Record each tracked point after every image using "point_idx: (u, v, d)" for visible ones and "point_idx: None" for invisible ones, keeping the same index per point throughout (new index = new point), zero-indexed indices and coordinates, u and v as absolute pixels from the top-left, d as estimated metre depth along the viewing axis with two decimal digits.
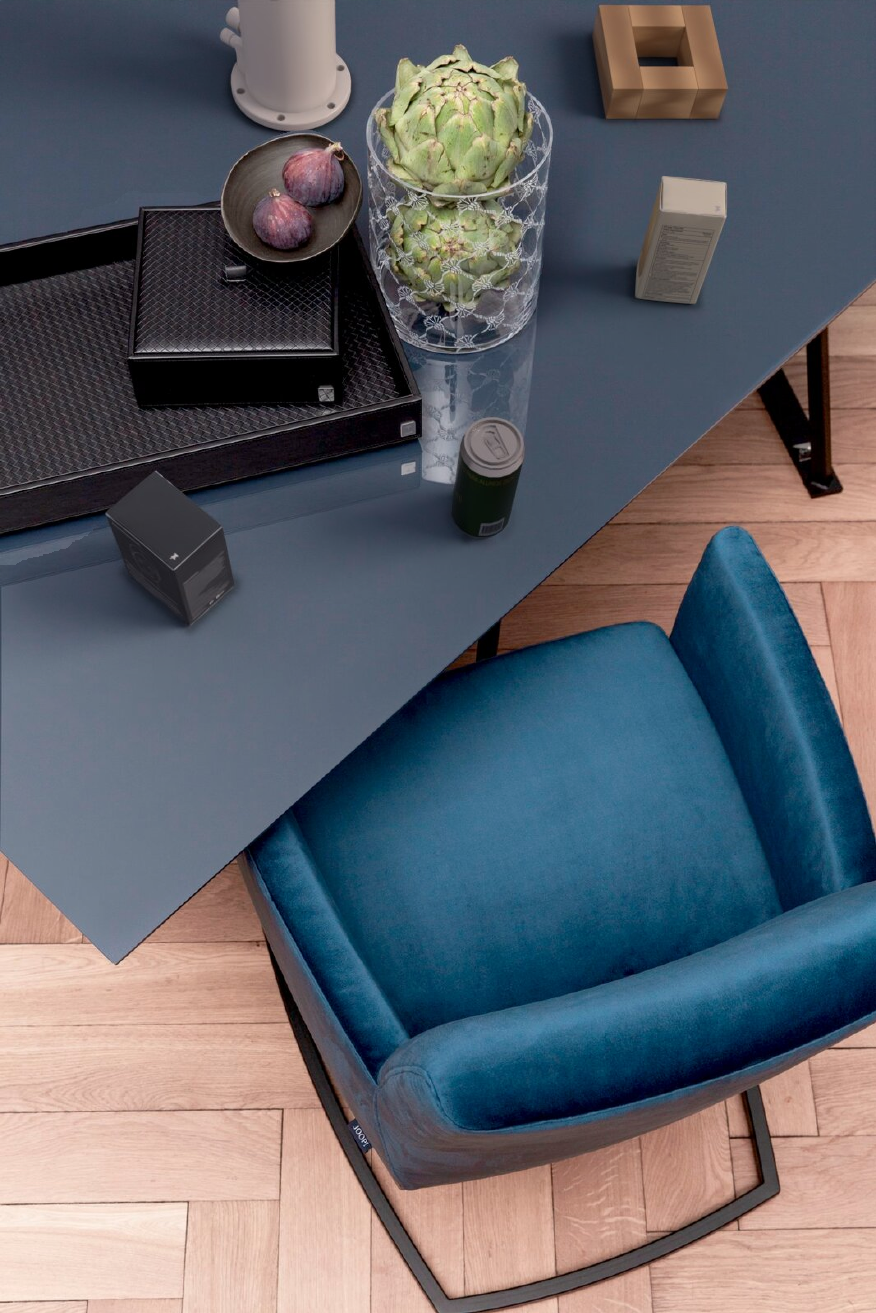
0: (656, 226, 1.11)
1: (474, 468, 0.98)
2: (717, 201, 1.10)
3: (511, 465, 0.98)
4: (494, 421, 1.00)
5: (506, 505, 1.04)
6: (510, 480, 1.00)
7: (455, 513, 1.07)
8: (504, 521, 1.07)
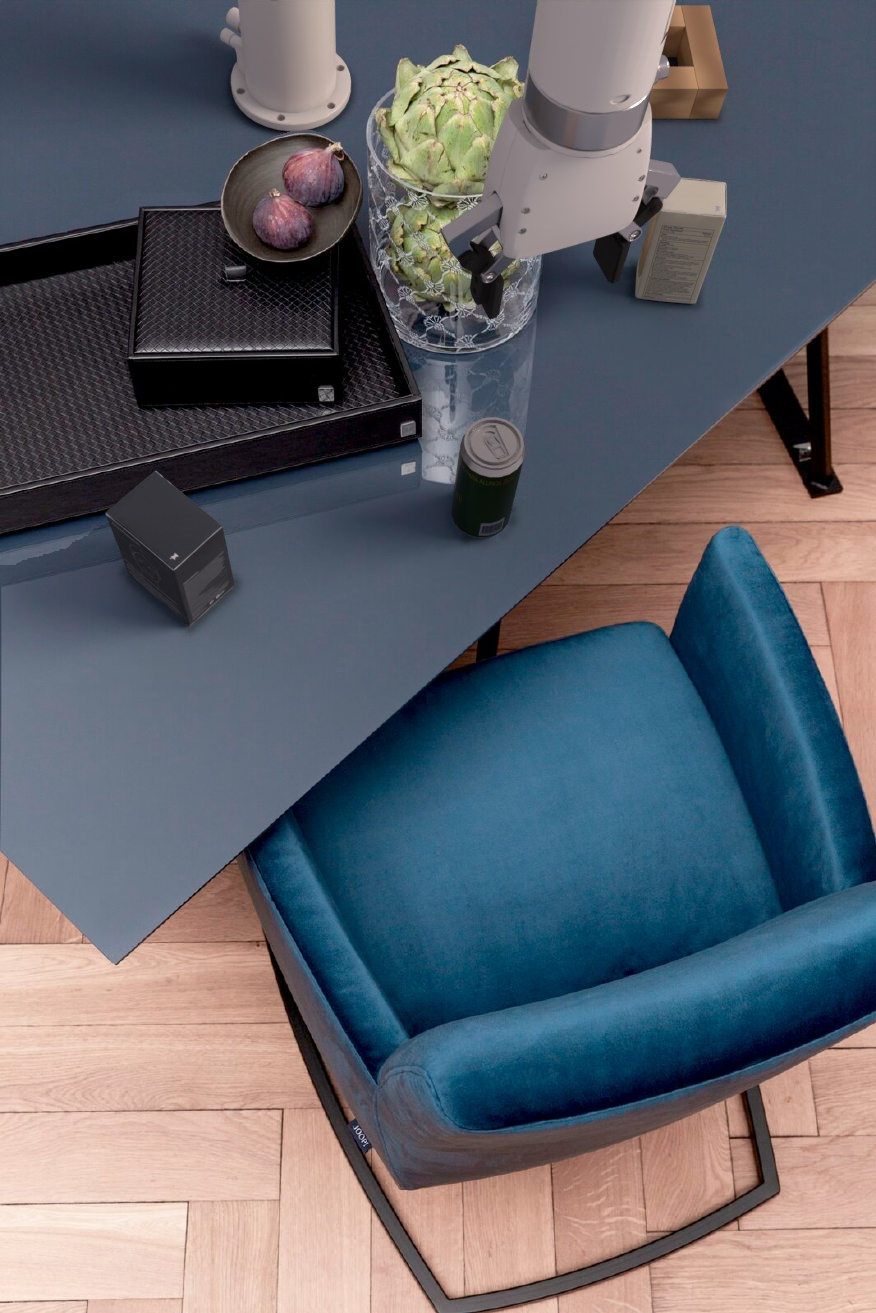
0: (656, 226, 1.11)
1: (475, 468, 0.98)
2: (717, 201, 1.10)
3: (511, 465, 0.98)
4: (494, 421, 1.00)
5: (506, 505, 1.04)
6: (510, 480, 1.00)
7: (455, 513, 1.07)
8: (504, 521, 1.07)
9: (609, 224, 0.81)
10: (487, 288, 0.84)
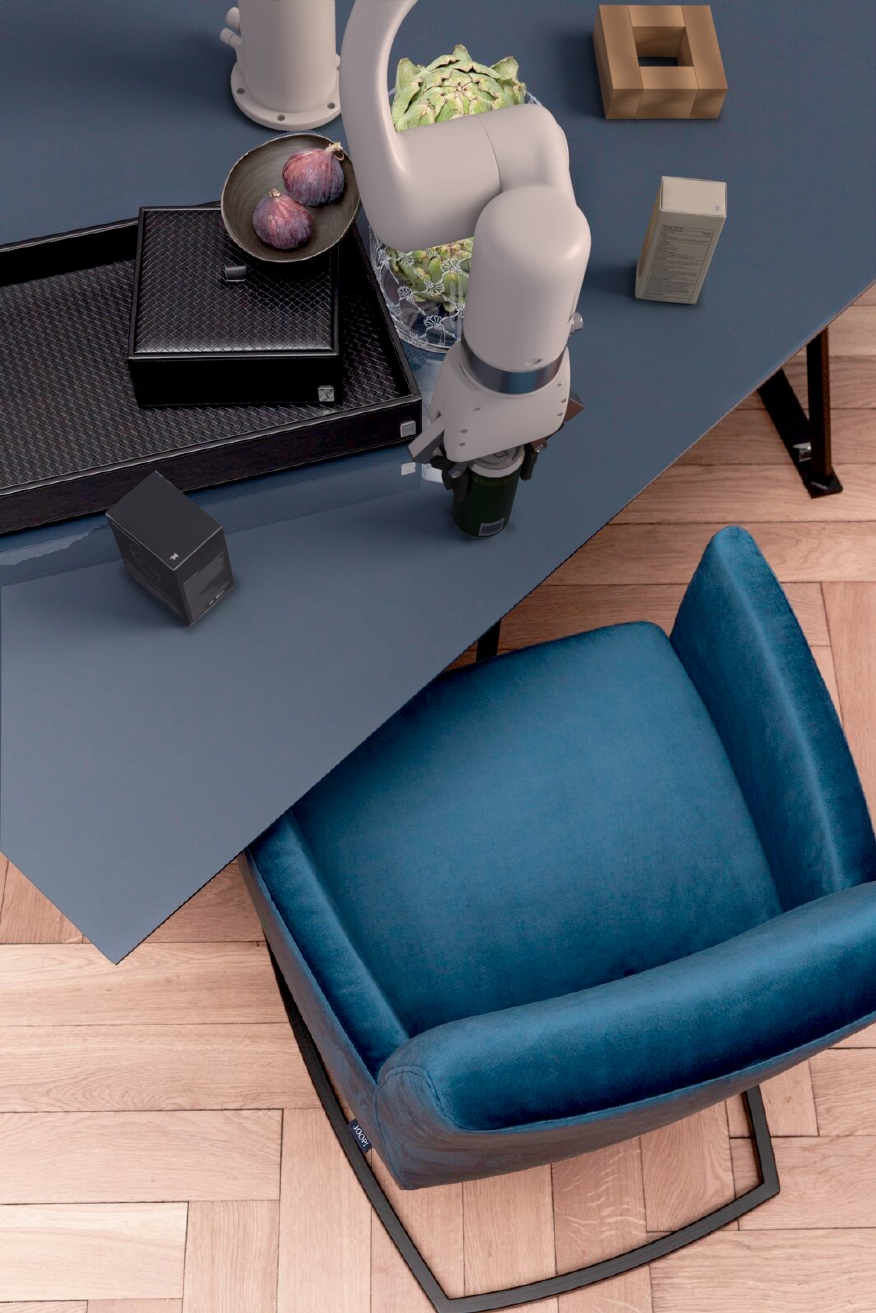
0: (656, 226, 1.11)
1: (474, 468, 0.98)
2: (717, 201, 1.10)
3: (511, 465, 0.98)
4: None
5: (506, 505, 1.04)
6: (510, 480, 1.00)
7: (455, 513, 1.07)
8: (504, 521, 1.07)
9: (538, 433, 0.95)
10: (455, 479, 1.00)
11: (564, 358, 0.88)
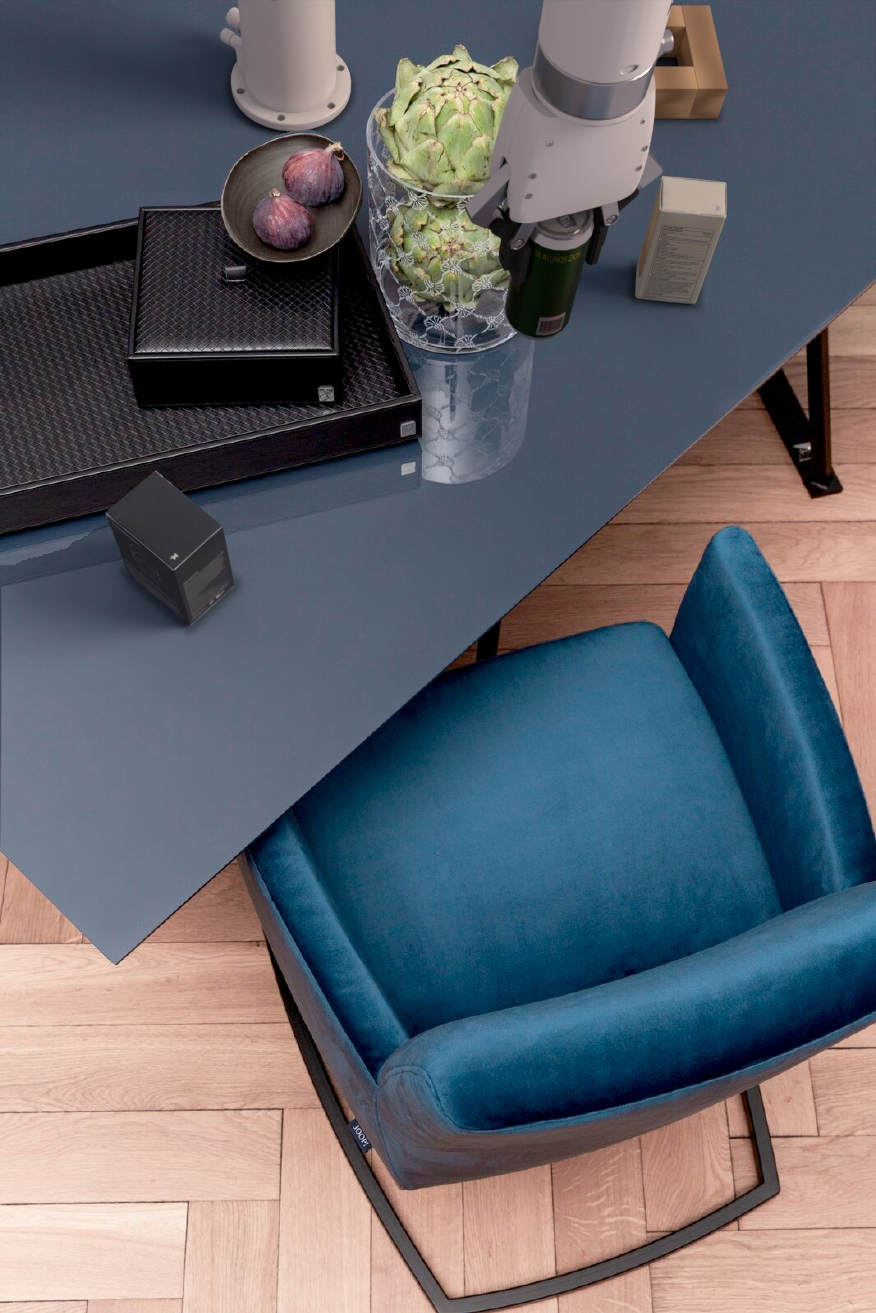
0: (656, 226, 1.11)
1: (538, 239, 0.88)
2: (717, 201, 1.10)
3: (579, 236, 0.87)
4: None
5: (569, 293, 0.93)
6: (577, 258, 0.89)
7: (510, 308, 0.96)
8: (565, 318, 0.96)
9: (612, 193, 0.85)
10: (515, 255, 0.89)
11: (650, 87, 0.77)
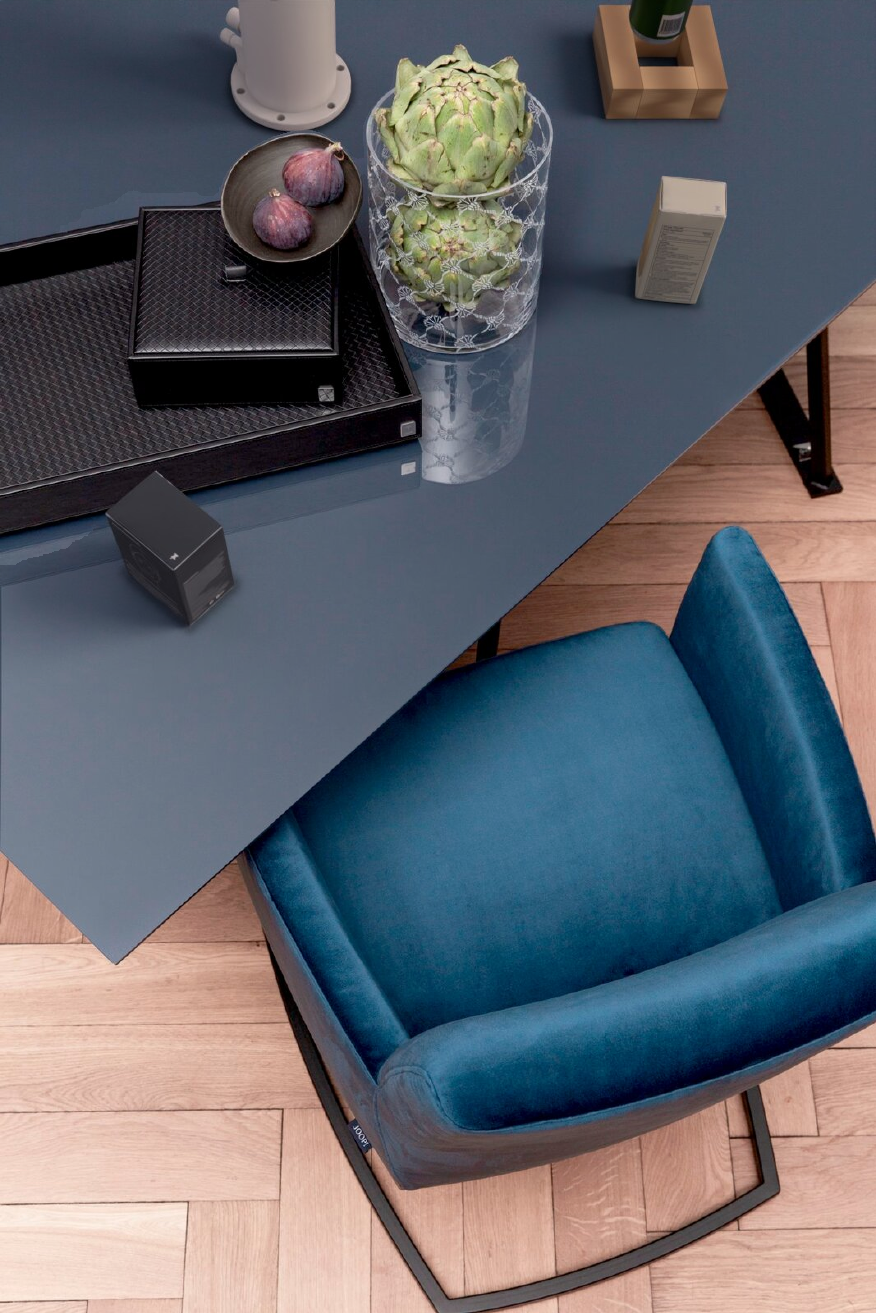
0: (656, 226, 1.11)
1: None
2: (717, 201, 1.10)
3: None
4: None
5: None
6: None
7: (635, 11, 1.09)
8: (683, 20, 1.09)
9: None
10: None
11: None
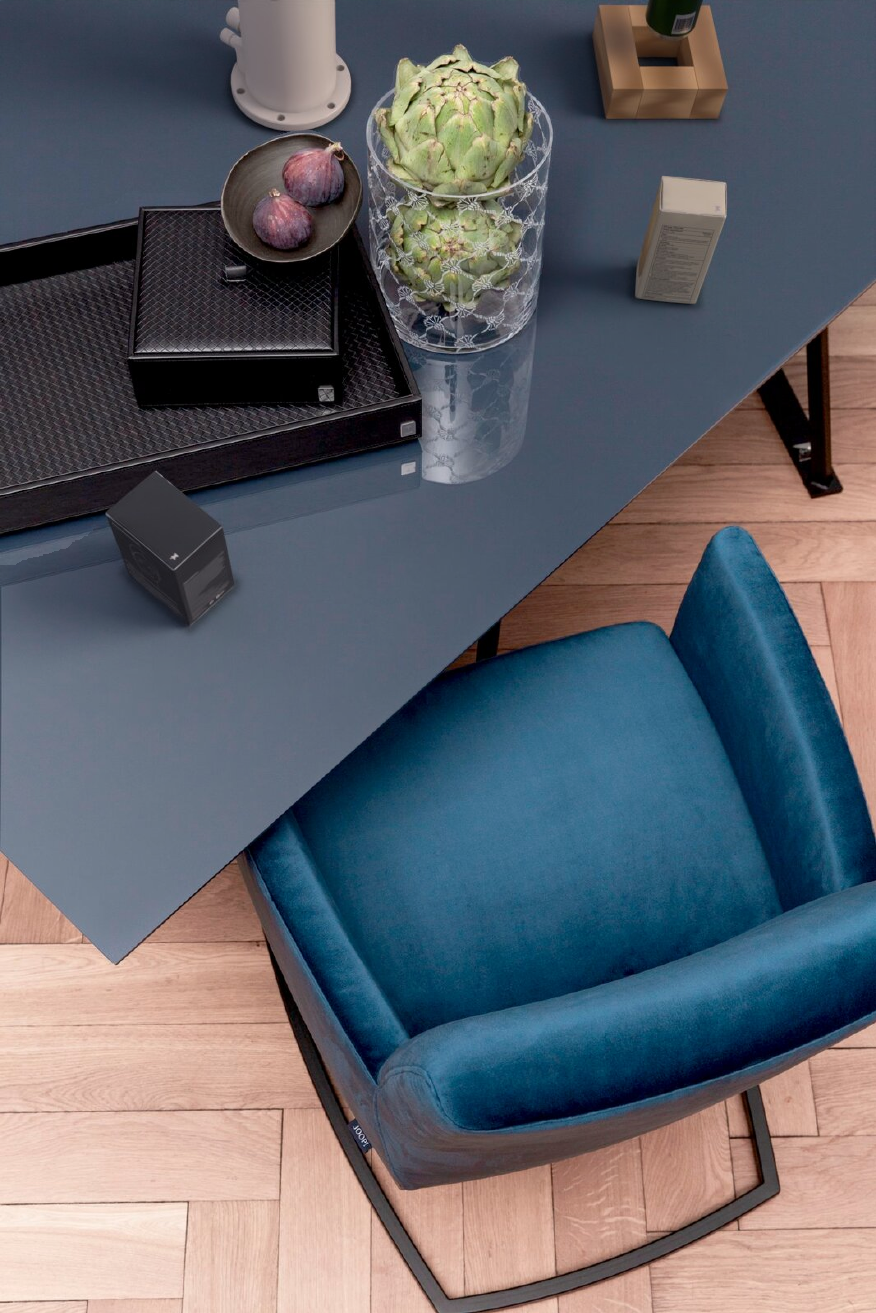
0: (656, 226, 1.11)
1: None
2: (717, 201, 1.10)
3: None
4: None
5: None
6: None
7: (652, 11, 1.24)
8: (694, 19, 1.24)
9: None
10: None
11: None
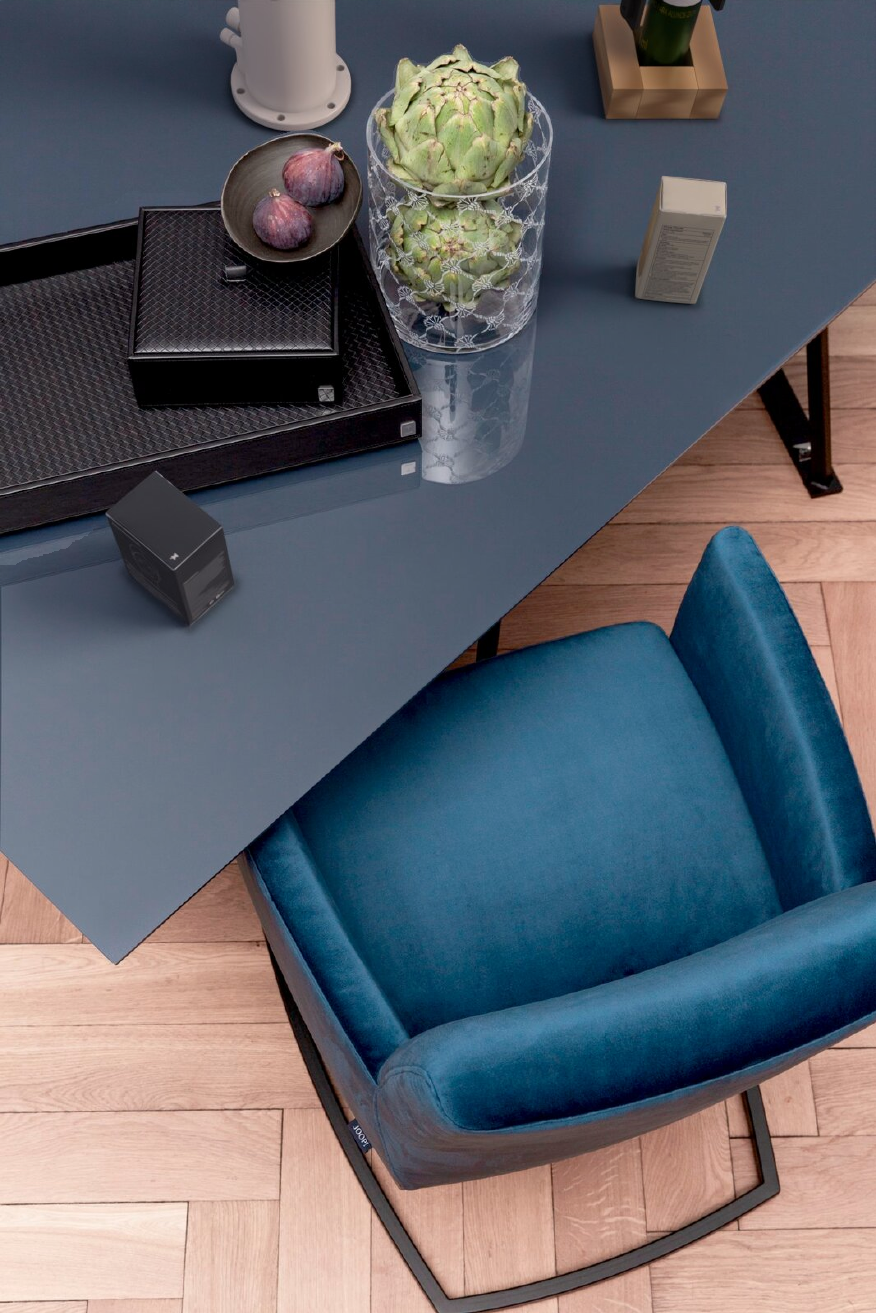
0: (656, 226, 1.11)
1: None
2: (717, 201, 1.10)
3: None
4: None
5: (683, 49, 1.27)
6: (692, 15, 1.23)
7: None
8: None
9: None
10: (634, 4, 1.21)
11: None
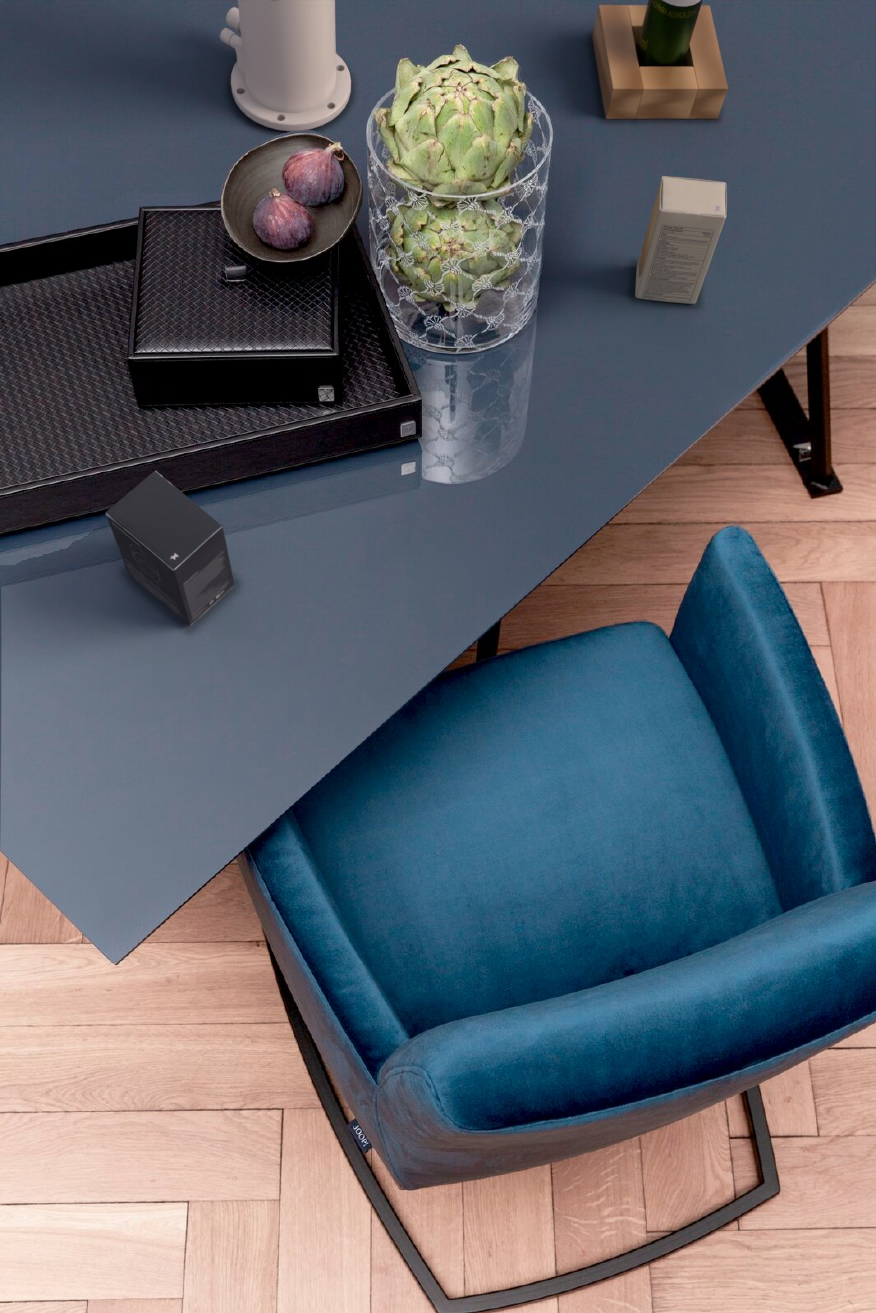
0: (656, 226, 1.11)
1: None
2: (717, 201, 1.10)
3: None
4: None
5: (683, 49, 1.27)
6: (692, 15, 1.23)
7: None
8: None
9: None
10: None
11: None
